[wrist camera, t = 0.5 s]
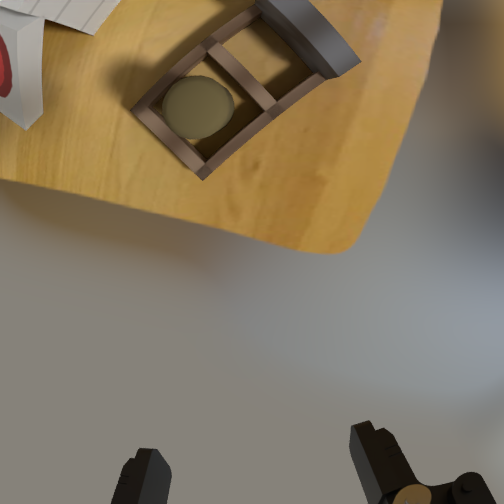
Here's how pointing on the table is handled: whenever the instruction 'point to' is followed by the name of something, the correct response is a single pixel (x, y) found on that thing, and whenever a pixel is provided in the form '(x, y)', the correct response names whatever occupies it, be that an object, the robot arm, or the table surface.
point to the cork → (197, 107)
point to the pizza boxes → (36, 48)
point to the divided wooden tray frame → (293, 33)
